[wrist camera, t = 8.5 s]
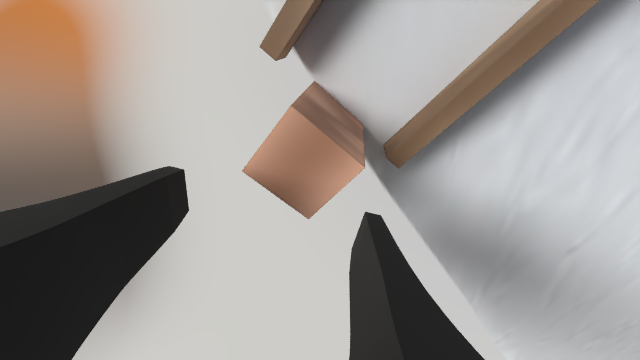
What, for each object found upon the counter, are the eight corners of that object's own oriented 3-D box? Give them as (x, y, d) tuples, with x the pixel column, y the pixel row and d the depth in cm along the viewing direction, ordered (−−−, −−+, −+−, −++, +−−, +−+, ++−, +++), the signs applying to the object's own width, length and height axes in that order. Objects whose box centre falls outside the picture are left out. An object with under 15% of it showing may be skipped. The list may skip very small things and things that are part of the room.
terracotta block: (363, 124, 16) (364, 167, 11) (323, 165, 18) (308, 219, 13) (314, 80, 15) (290, 105, 10) (277, 128, 17) (242, 171, 12)
